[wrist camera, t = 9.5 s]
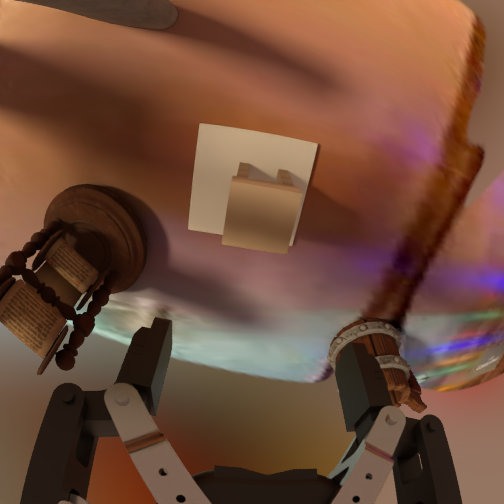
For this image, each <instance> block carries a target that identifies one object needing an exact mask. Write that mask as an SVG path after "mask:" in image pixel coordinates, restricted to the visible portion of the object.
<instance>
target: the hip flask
mask: <svg viewBox="0 0 504 504" xmlns="http://www.w3.org/2000/svg"><path fill="white" fill-rule="evenodd" d="M16 1H22V2H28V3H33V4H38V5H42V6H47V7H51V8H55V9H59V10H63V11H67V12H71V13H74V14H78V15H81V16H85V17H88V18H91V19H95V20H99V21H103V22H108V23H113V24H118V25H124V26H130V27H137V28H147V29H158V30H162V29H166V28H169V27H170V26H172V25H173V24H174V23H175V21H176V20H177V18H178V10H177V8H176V7H175V6H174V5H173V4H172V3H171V2H170V1H169V0H16Z"/></svg>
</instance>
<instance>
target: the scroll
mask: <svg viewBox="0 0 504 504" xmlns="http://www.w3.org/2000/svg"><path fill="white" fill-rule="evenodd" d="M146 242H147V238H146V236H145V235H144V232H143V229H142V226H141V224H140V222H139V220H138V219H137V217H136V215H135V214H134V212H133V211H132V210H131V209H130V207H129V206H128V205H127V204H126V203H125V202H124V201H123V200H122V199H121V198H119V197H118V196H117V195H115V194H114V193H112V192H110V191H109V190H107V189H104V188H102V187H99V186H95V185H90V184H82V185H76V186H72V187H70V188H68V189H66V190H64V191H63V192H61V193H60V194H59V195H57V196H56V197H55V198H54V199H53V200H52V202H51V203H50V205H49V207H48V209H47V211H46V214H45V218H44V229H41V231H40V232H37V233H34V234H33V236H32V237H31V242H27V243H26V244H25V245H24V247H23V249H22V251H17V252H16V251H15V252H12V253H11V254H10V255H9V256H8V258H7V259H6V262H5V265H4V266H2V267H1V268H0V322H1V323H3V324H4V325H5V326H6V327H7V328H8V329H9V330H10V331H11V332H12V333H13V334H14V335H15V336H17V337H18V338H19V339H20V340H21V341H22V342H24V343H25V344H26V345H27V346H28V347H29V348H30V349H32V350H33V351H34V352H35V353H37V354H38V355H39V356H40V357H42V358H43V359H44V360H43V361H42V363H41V365H40V367H39V369H38V372H37V375H39V374H42V373H43V371H44V370H45V369H46V367H47V365H48V364H49V362H50V361H51V359H52V358H53V356H54V355H55V354H56V358H55V361H56V364H57V366H58V367H59V368H60V369H62V370H66V371H67V370H70V369H72V368H73V367H74V364H75V358H74V356H77V355H78V352H77V350H76V349H77V348H78V347H80V346H81V345H82V344H83V342H84V337H88V336H89V334H90V333H91V332H92V330H93V328H94V326H95V323H94V322H95V318H94V317H95V316H96V315H97V314H99V313H100V311H101V306H105V305H106V304H107V303H108V301H109V295H110V294H114V293H118V292H121V291H124V290H126V289H128V288H129V287H131V286H132V285H133V284H134V283H135V282H136V280H137V279H138V278H139V276H140V274H141V272H142V270H143V268H144V266H145V262H146V256H147V245H146ZM36 250H40V252H39V253H38V255H37V256H36V258H35V260H34V262H33V264H32V270H33V271H35V270H36V269H37V268H39V267H40V266H41V264H42V263H43V262H44V261H45V260H46V262H45V263H44V264H43V265H42V266H41V267H40V268H39V270H38V271H37V272H36V273H34V272H33V271H32V270H31V269H26V264H25V263H26V262H27V258H29V257H31V256H33V255H34V254H35V253H36ZM12 275H22V278H23V281H24V282H25V283H26V284H25V283H24V282H23V281H22V280H21V279H20V280H17V281H16V279H15V278H14V277H12ZM86 292H87V293H86ZM85 293H86V294H85ZM82 294H85V296H84V297H83V299H82V300H81V302H80V303H79V305H78V307H77V309H76V310H77V311H78V310H80V309H81V308H82V307H83V306H84V305H85V303H86V302H87V301H88V299H89V298H90V297H91V295H92V294H93V295H92V300H93V301H91V302H89V304H88V308H87V312H84V313H83V314H78V315H77V314H76V311H75V309H74V308H73V307H74V306H75V304H76V303H77V301H78V300H79V298H80V297H81V295H82ZM66 319H67V320H72V321H73V325H74V326H73V327H74V331H72V332H71V334H70V338H69V343H68V344H64V345H63V348H64V349H63V350H60V351H58V352H56V351H57V350H58V348H59V346H60V344H61V343H62V341H63V339H64V338H65V336H66V334H67V332H68V326H67V325H66V326H65V327H64V325H65V324H66V322H67V320H66ZM63 327H64V328H63ZM62 329H63V330H62ZM61 330H62V331H61ZM60 332H61V333H60ZM59 333H60V334H59ZM44 357H45V358H44Z"/></svg>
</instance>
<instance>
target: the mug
mask: <svg viewBox="0 0 504 504" xmlns="http://www.w3.org/2000/svg"><path fill="white" fill-rule="evenodd" d="M400 339H401V335H399V334H398V333H397V330H396V329H395V328H394V327H393V326H392V325H391V324H389V323H388V322H386V321H384V320H381V319H377V318H373V319H367V320H366V322H365V321H364V319H363V320H360V321H356V322H353V323H352V324H350V325H348V326H346V327H345V328H343V329H342V330H341V331H340V332H339V333H338V334H337V337H334V339H333V341H332V343H331V345H330V349H329V355H328V357H327V359H328V360H329V361H330V364H331V366H332V368H333V369H334V371H335V367H336V363H337V361H338V360H339V358H340V356H341V354H342V352H343V351H344V349H345V347H346V345H347V344H348V343H349V342H351V343H364V344H365V345H366V347H367V350H368V353H369V354H373V356H374V357H375V358H376V359H377V361H378V362H379V364H380V367H381V370H382V373H383V376H384V380H385V382H386V385H387V388H388V391H389V394H390V397H391V400H392V403H393V406H395V407H397V408H398V407H400V406H401V404H403V403H404V404H407V405H408V406H409V407H411V409H412V410H414V411H416V412H418V413H421V412H422V411H424V410H425V409H426V408H427V406H426V405H425V404H424V403H423V402H422V400H421V397H420V395H421V388H420V385H419V384H418V382H417V381H416V380H417V379H416V378H415V376H414V375H413V373H412V371H411V370H410V369H411V367H410V365H407V362H406V361H405V360H404V359H403V358H402V357H400V354H399V348H400ZM337 391H338V392H339V390H337Z"/></svg>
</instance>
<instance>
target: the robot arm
mask: <svg viewBox="0 0 504 504" xmlns="http://www.w3.org/2000/svg"><path fill="white" fill-rule="evenodd" d="M171 350H172V320H168V319H162V318H157V317H155V318H154V321H153V323H152V326H151V328H147V327H141V328H140V329H139V330H138V331H137V332H136V333H135V334H134V336H133V338H132V341H131V343H130V346H129V349H128V352H127V353H126V356H125V359H124V361H123V364H122V367H121V370H120V372H119V375H118V377H117V380H116V382H115V383H114V384H113V385H112V386H110V387H109V388H108V389H106V390H102V391H82V390H81V388H80V387H79V386H77V385H76V384H73V383H64V384H61V385H59V386H58V387H57V388H56V389H55V390H54V392H53V394H52V397H51V399H50V402H49V405H48V407H47V410H46V413H45V416H44V419H43V422H42V424H41V427H40V431H39V434H38V437H37V440H36V443H35V446H34V450H33V453H32V456H31V460H30V464H29V467H28V471H27V475H26V479H25V483H24V487H23V492H22V497H21V502H20V504H90V503H89V502H87V501H86V497H87V492H88V486H89V481H90V475H91V470H92V465H93V460H94V455H95V451H96V447H97V442H98V438H99V437H112V436H113V437H114V436H120V437H121V439H122V441H123V443H124V445H125V447H126V449H127V451H128V453H129V454H130V457H131V459H132V460H133V462H134V464H135V466H136V468H137V470H138V471H139V473H140V475H141V476H142V478H143V480H144V482H145V483H146V485H147V487H148V488H149V489H150V492H151V493H152V495H153V496H154V498H155V500H156V501H157V503H156V504H374V503H375V501H376V499H377V497H378V495H379V493H380V491H381V489H382V487H383V485H384V483H385V481H386V479H387V477H388V475H389V473H390V471H391V469H392V468H393V474H394V481H395V488H396V495H397V501H398V504H462V500H461V495H460V490H459V485H458V481H457V477H456V472H455V468H454V464H453V460H452V456H451V452H450V449H449V445H448V441H447V438H446V435H445V431H444V428H443V425H442V423H441V421H440V420H439V418H437V417H436V416H434V415H425V416H424V417H423V418H422V419H421V420H417V419H413V418H408V417H405V415H404V414H403V412H402V411H401V410H400V409H399V408H397V407H395V406H393V403H392V400H391V397H390V394H389V391H388V388H387V385H386V382H385V380H384V376H383V373H382V370H381V367H380V364H379V362H378V361H377V359H376V358H375V357H374V356H373V354H369V353H368V350H367V347H366V345H365V344H364V343H351V342H349V343H348V344H347V345H346V347H345V349H344V351H343V352H342V354H341V356H340V358H339V360H338V361H337V363H336V367H335V376H336V380H337V385H338V390H339V395H340V399H341V404H342V409H343V414H344V419H345V424H346V430H347V432H351V431H355V432H356V436H355V437H354V439H353V440H352V442H351V444H350V445H349V447H348V449H347V451H346V452H345V454H344V456H343V457H342V459H341V460H340V462H339V463H338V465H337V466H336V468H335V469H334V470H333V471H332V472H331V473H330V474H329V476H328V477H325V476H322V475H319V474H317V469H293V470H289V471H284V472H280V473H275V474H271V475H265V474H261V473H257V472H254V471H250V470H247V469H243V468H237V467H225V466H216V465H215V467H214V470H211V471H205V472H201V473H198V474H195V475H193V476H191V475H190V474H189V473H188V471H187V470H186V468H185V467H184V465H183V464H182V462H181V461H180V459H179V458H178V456H177V455H176V453H175V451H174V450H173V448H172V447H171V445H170V444H169V442H168V441H167V439H166V437H165V436H164V435H163V434H161V433H160V431H159V430H158V428H157V426H156V425H155V423H154V421H153V419H152V418H151V416H150V415H153V416H156V413H157V409H158V404H159V399H160V396H161V391H162V388H163V384H164V379H165V376H166V372H167V367H168V363H169V360H170V356H171ZM418 454H420V459H421V464H422V468H421V464H420V459H419V455H418Z"/></svg>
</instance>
